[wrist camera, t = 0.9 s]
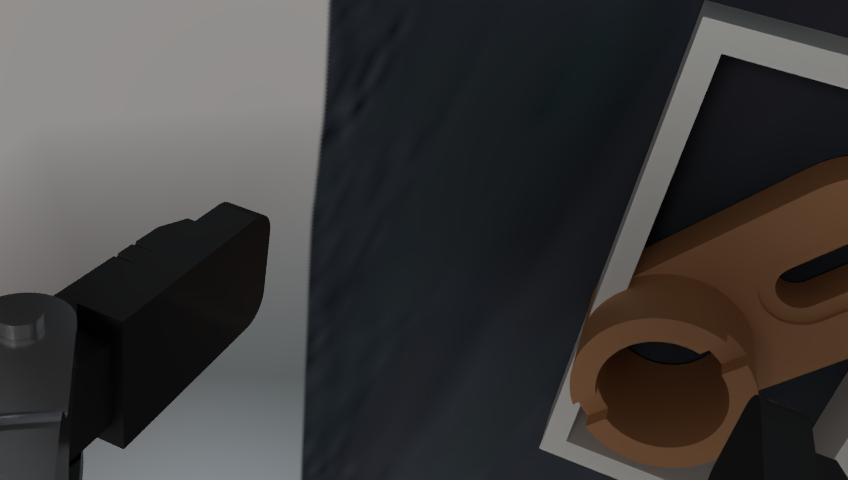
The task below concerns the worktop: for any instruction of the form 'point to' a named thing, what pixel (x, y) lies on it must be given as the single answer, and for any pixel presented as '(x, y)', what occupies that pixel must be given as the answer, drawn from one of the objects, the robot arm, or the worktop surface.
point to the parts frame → (712, 36)
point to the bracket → (717, 321)
